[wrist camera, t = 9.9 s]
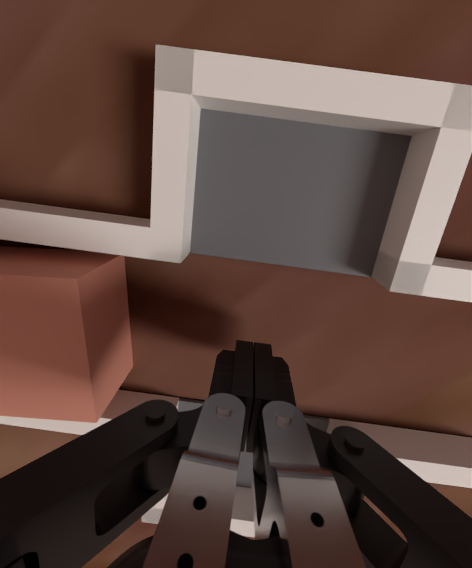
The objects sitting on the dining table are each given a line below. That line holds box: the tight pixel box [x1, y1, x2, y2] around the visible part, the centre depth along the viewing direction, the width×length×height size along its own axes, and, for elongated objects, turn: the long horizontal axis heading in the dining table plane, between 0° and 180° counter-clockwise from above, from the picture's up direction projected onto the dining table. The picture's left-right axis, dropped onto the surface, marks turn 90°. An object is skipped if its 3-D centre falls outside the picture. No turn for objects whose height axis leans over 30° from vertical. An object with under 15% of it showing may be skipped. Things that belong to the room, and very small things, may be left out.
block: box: [0, 246, 133, 423], centre depth 13 cm, size 6×6×4 cm
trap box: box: [0, 45, 472, 537], centre depth 12 cm, size 27×22×5 cm
